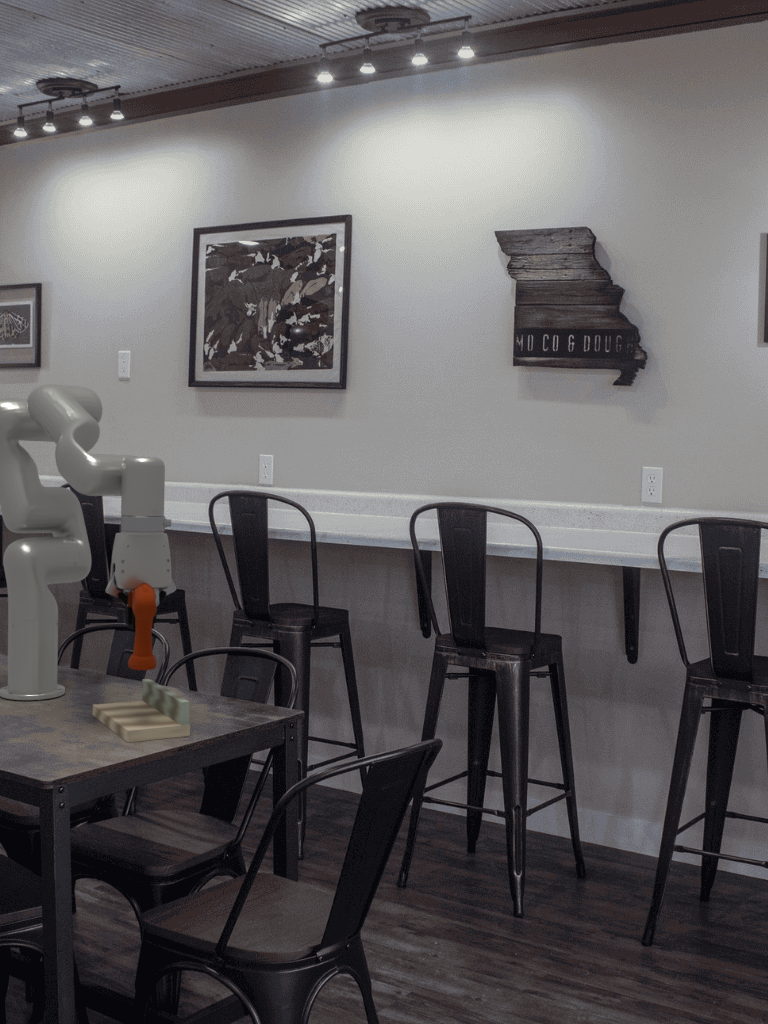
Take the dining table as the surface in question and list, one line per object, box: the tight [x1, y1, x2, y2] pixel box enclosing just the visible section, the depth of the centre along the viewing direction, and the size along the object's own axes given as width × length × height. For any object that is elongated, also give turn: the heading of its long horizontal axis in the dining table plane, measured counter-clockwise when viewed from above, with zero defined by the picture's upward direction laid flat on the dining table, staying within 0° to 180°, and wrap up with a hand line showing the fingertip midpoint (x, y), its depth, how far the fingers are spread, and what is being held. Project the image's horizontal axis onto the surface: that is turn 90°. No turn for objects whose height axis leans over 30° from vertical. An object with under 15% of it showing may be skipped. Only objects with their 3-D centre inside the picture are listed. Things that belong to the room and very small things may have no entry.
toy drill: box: [127, 583, 158, 671], centre depth 196 cm, size 5×19×15 cm, turn 15°
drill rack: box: [92, 678, 191, 743], centre depth 197 cm, size 22×11×6 cm, turn 30°
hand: (140, 627), depth 197 cm, fingers closed on toy drill, 2 cm apart
